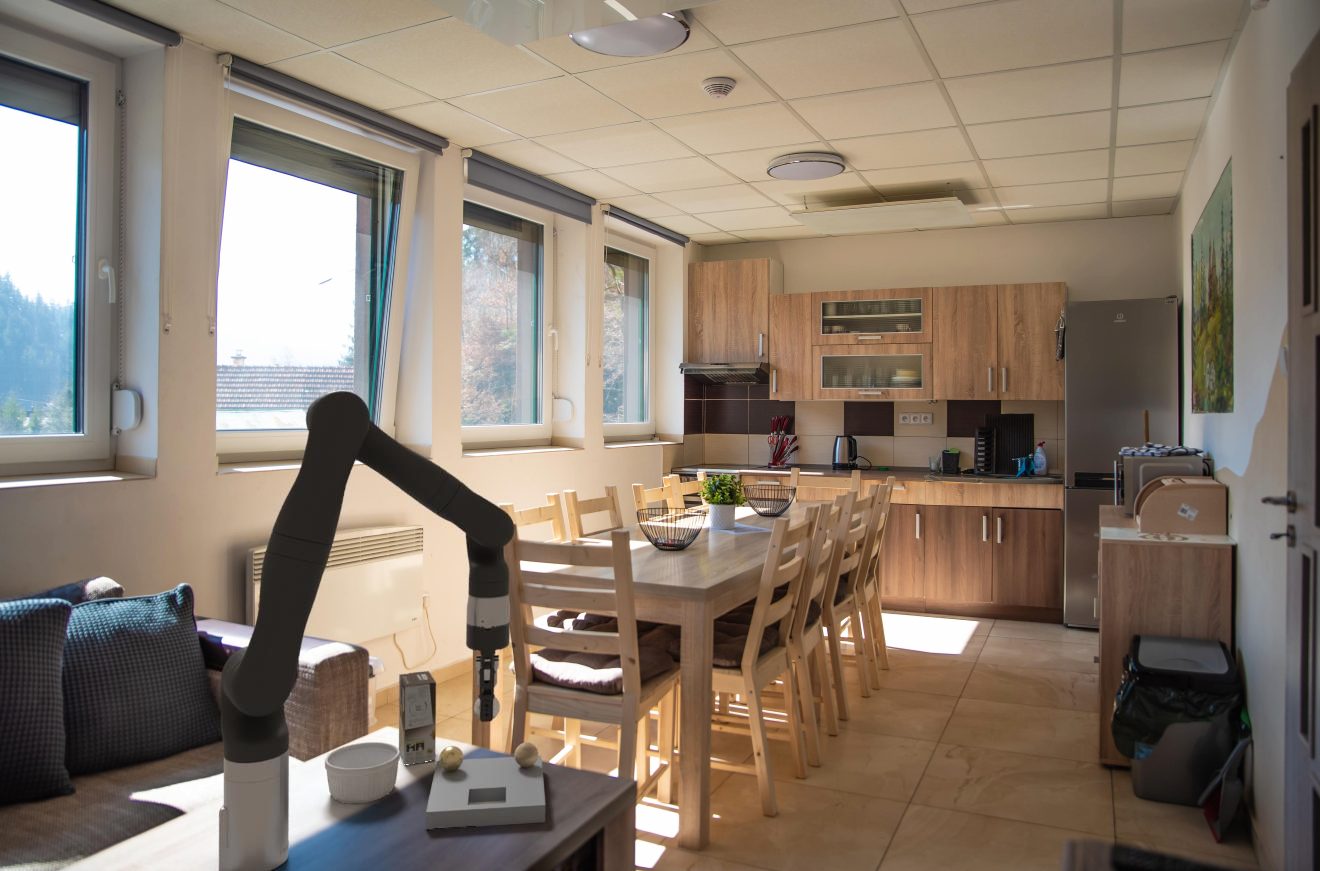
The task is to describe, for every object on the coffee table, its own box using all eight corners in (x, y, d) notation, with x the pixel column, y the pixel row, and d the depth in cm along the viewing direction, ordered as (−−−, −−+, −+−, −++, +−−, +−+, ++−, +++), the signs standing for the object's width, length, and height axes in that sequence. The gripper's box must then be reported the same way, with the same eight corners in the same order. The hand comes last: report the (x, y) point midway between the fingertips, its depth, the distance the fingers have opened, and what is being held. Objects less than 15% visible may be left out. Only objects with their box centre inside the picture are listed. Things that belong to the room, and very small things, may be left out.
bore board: (425, 829, 146) (426, 812, 146) (437, 776, 168) (437, 760, 168) (545, 822, 150) (545, 804, 150) (541, 770, 171) (541, 755, 171)
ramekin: (308, 798, 158) (308, 760, 158) (362, 771, 170) (362, 736, 170) (362, 813, 152) (363, 774, 152) (414, 785, 164) (415, 748, 164)
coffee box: (436, 761, 175) (437, 682, 175) (403, 766, 173) (404, 686, 172) (428, 745, 184) (429, 670, 183) (397, 749, 181) (397, 673, 181)
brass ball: (437, 775, 161) (438, 751, 161) (440, 766, 165) (440, 742, 165) (462, 774, 162) (463, 750, 162) (464, 764, 166) (464, 741, 166)
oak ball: (514, 771, 163) (514, 748, 163) (514, 762, 168) (514, 739, 168) (538, 770, 164) (538, 746, 164) (537, 761, 169) (538, 738, 168)
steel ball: (473, 725, 151) (473, 699, 151) (474, 716, 155) (474, 691, 155) (499, 724, 151) (500, 698, 151) (499, 715, 156) (500, 690, 156)
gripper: (467, 611, 159) (466, 703, 160) (464, 630, 145) (463, 731, 145) (509, 610, 161) (507, 702, 161) (510, 628, 147) (508, 729, 147)
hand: (486, 715), depth 153 cm, fingers closed on steel ball, 4 cm apart
